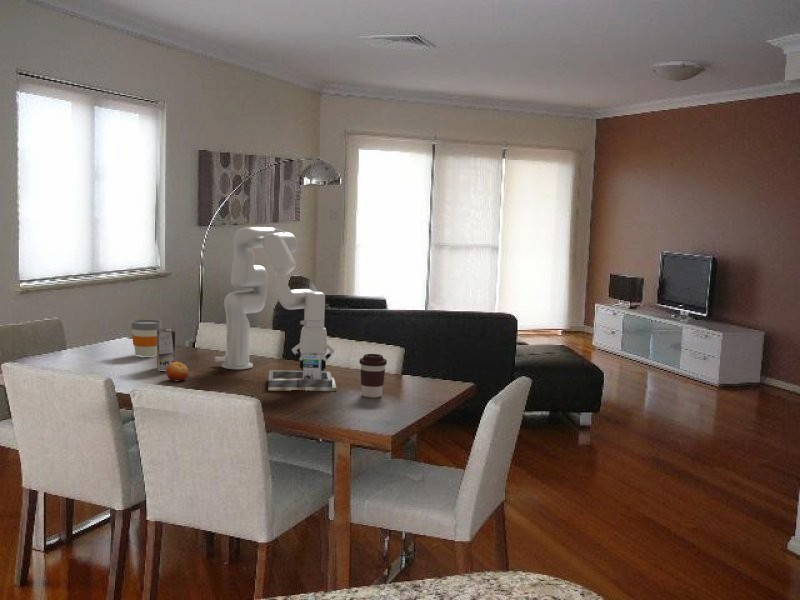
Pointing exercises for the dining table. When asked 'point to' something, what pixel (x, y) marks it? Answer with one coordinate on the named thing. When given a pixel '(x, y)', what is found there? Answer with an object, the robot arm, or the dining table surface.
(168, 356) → the coffee box
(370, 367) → the coffee cup
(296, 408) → the dining table surface
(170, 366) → the fruit
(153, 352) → the reusable coffee cup
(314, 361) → the light bulb box
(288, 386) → the gray shallow tray
